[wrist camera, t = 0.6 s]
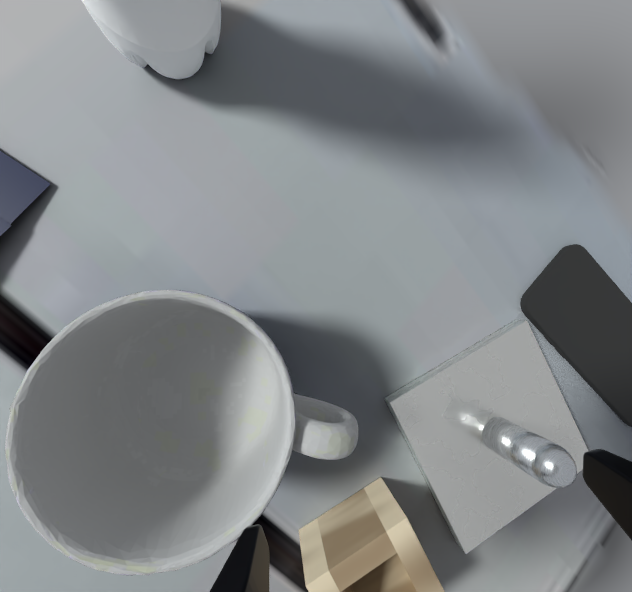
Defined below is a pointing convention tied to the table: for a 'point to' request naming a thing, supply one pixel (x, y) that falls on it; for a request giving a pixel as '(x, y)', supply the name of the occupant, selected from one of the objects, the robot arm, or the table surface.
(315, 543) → the collar
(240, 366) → the teacup
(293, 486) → the table surface
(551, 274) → the phone
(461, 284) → the table surface
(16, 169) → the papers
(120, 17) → the water bottle
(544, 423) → the stand
